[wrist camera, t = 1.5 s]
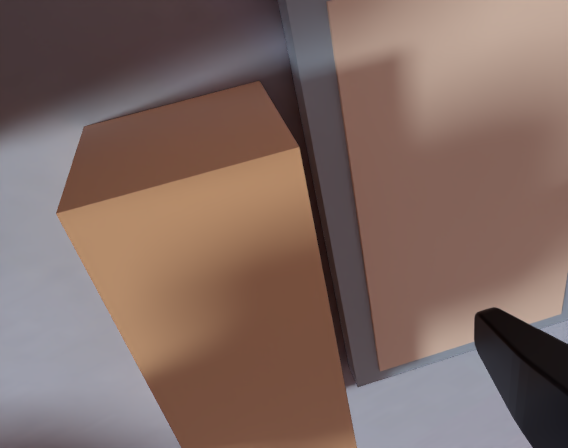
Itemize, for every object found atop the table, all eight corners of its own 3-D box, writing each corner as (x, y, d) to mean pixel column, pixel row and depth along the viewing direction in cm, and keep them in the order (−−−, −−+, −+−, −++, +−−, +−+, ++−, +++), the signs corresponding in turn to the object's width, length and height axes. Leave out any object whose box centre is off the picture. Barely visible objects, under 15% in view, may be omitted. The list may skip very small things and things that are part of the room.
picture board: (808, -163, 10) (862, -169, 9) (676, 262, 16) (701, 280, 15) (273, -25, 9) (283, -19, 8) (349, 366, 15) (358, 389, 15)
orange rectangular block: (258, 77, 10) (298, 147, 7) (327, 388, 16) (366, 497, 13) (85, 123, 10) (56, 213, 7) (217, 422, 16) (232, 542, 13)
